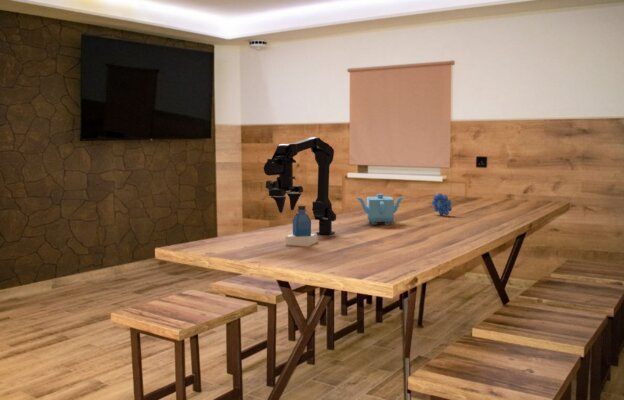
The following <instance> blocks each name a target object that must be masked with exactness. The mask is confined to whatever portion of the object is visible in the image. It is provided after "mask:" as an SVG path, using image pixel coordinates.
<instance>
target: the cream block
mask: <svg viewBox="0 0 624 400" xmlns="http://www.w3.org/2000/svg"><path fill="white" fill-rule="evenodd" d="M317 242H318V234H316V233H312V232H311V236H298V237H296V236H295V235H293V233H290V234H288V235H286V236H285V246H296V247H297V246H298V247H310V246H312V245H314V244H315V243H317Z"/></svg>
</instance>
